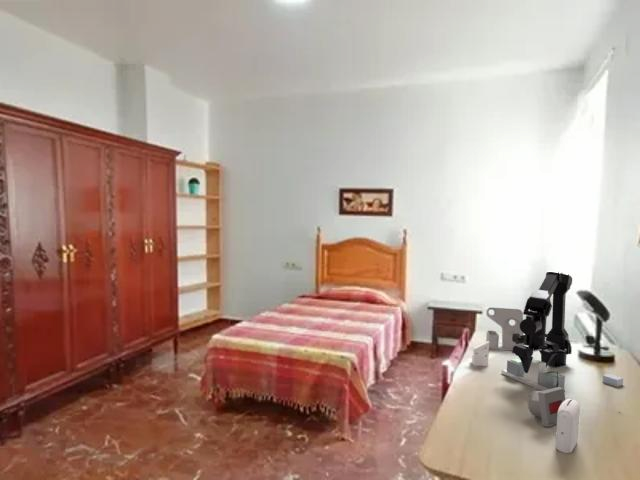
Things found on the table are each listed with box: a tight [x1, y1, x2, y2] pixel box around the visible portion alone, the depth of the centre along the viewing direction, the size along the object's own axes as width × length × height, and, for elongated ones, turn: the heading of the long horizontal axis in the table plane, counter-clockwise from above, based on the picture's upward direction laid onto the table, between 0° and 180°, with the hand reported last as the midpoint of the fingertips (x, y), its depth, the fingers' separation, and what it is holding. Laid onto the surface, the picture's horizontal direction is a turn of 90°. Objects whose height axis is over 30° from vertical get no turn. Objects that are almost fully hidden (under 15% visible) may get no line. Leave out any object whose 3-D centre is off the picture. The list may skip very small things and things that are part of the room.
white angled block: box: [471, 341, 490, 367], centre depth 187 cm, size 4×10×9 cm, turn 84°
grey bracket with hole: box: [485, 307, 525, 351], centre depth 212 cm, size 17×10×18 cm, turn 79°
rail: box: [501, 358, 566, 393], centre depth 168 cm, size 7×22×6 cm, turn 26°
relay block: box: [602, 373, 624, 388], centre depth 166 cm, size 5×4×4 cm
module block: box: [524, 357, 547, 383], centre depth 167 cm, size 4×6×7 cm, turn 26°
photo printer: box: [554, 398, 580, 454], centre depth 122 cm, size 10×4×12 cm, turn 140°
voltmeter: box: [527, 371, 566, 427], centre depth 143 cm, size 27×11×10 cm, turn 153°
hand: (534, 371), depth 167 cm, fingers open, 9 cm apart
